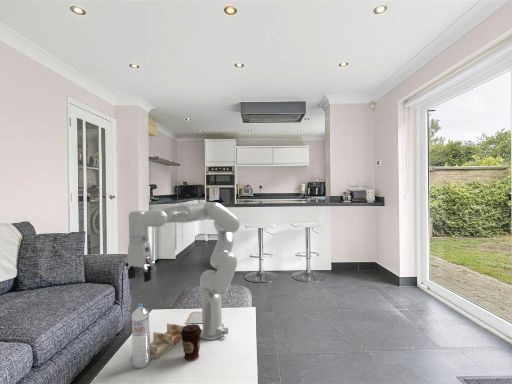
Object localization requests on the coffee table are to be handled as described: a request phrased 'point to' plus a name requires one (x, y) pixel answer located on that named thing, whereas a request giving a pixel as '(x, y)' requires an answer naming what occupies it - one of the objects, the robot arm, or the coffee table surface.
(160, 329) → the coffee table surface
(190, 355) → the coffee cup
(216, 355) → the coffee table surface
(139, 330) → the water bottle
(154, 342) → the wooden bottle cradle
